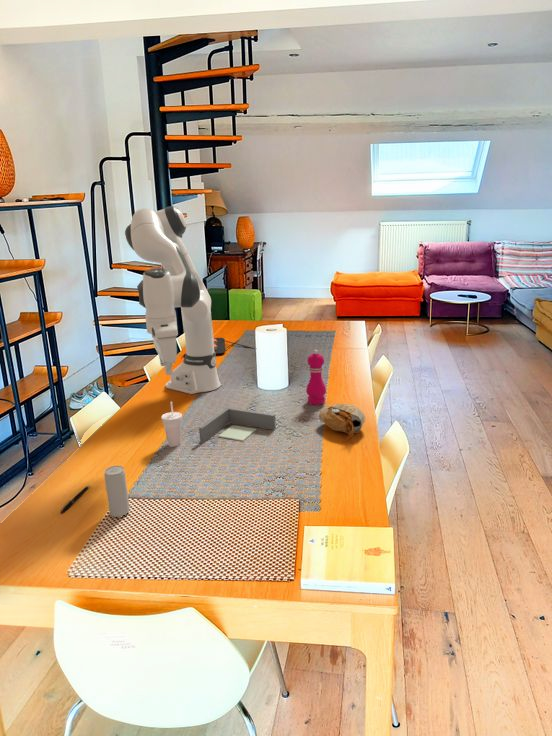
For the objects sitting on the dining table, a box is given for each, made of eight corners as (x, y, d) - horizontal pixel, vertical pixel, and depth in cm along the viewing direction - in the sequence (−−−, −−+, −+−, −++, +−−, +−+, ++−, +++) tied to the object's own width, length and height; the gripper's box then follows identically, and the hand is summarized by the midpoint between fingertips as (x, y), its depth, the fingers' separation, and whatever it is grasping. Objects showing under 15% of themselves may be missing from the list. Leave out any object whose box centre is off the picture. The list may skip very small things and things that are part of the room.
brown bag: (370, 448, 170) (320, 450, 171) (363, 416, 190) (319, 418, 191) (369, 424, 167) (319, 427, 168) (362, 395, 187) (317, 397, 188)
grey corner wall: (200, 442, 176) (199, 427, 175) (228, 420, 192) (227, 407, 190) (250, 451, 169) (250, 436, 167) (275, 428, 184) (275, 414, 183)
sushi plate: (197, 342, 293) (196, 335, 292) (253, 338, 296) (253, 331, 295) (195, 358, 266) (194, 350, 264) (258, 354, 268) (257, 346, 267)
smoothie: (188, 440, 178) (184, 399, 173) (178, 449, 172) (174, 407, 167) (170, 438, 180) (166, 398, 175) (160, 447, 174) (155, 405, 170)
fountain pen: (88, 486, 153) (87, 481, 152) (92, 486, 153) (91, 481, 152) (58, 515, 140) (58, 510, 139) (63, 515, 139) (62, 510, 139)
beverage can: (112, 508, 141) (106, 466, 137) (131, 507, 141) (125, 464, 138) (108, 519, 137) (101, 475, 133) (128, 517, 137) (122, 474, 133)
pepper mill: (324, 405, 202) (324, 352, 196) (305, 404, 203) (304, 352, 197) (327, 398, 209) (326, 347, 202) (308, 397, 210) (307, 346, 204)
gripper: (146, 319, 172) (150, 361, 176) (155, 334, 154) (160, 381, 158) (166, 317, 174) (170, 359, 178) (178, 331, 156) (182, 378, 160)
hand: (166, 369), depth 168 cm, fingers open, 8 cm apart
